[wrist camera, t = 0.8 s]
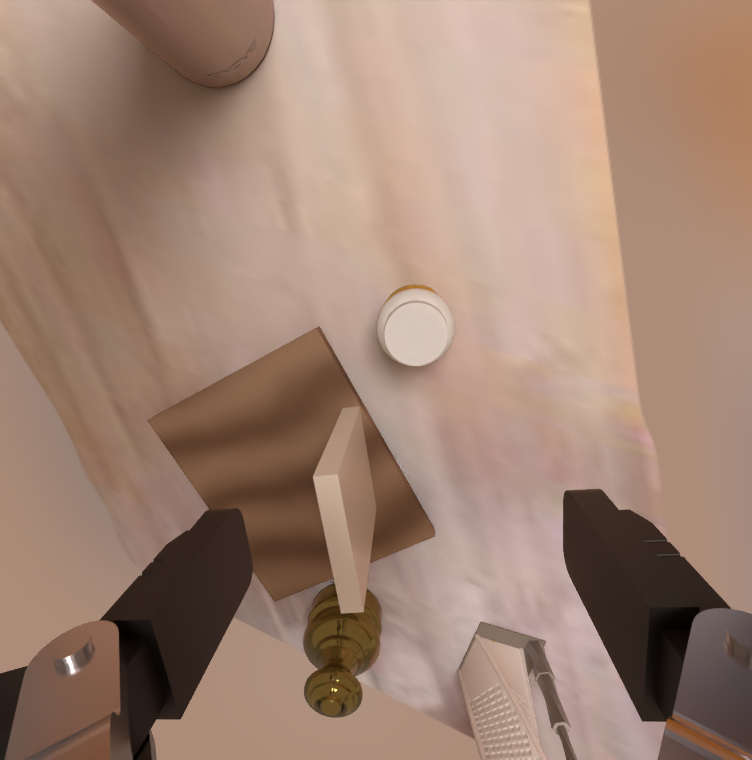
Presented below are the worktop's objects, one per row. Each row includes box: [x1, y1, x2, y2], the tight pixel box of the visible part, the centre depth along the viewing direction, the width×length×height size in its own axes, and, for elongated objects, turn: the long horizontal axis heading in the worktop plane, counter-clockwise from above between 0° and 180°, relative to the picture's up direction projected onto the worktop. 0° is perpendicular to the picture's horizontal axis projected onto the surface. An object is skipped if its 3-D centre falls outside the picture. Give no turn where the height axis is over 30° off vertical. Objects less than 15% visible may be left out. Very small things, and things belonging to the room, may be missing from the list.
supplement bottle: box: [377, 285, 455, 367], centre depth 30 cm, size 5×5×10 cm
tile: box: [313, 406, 376, 614], centre depth 32 cm, size 10×2×12 cm, turn 8°
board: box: [147, 327, 435, 602], centre depth 39 cm, size 22×18×1 cm
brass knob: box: [303, 584, 382, 717], centre depth 39 cm, size 7×7×10 cm
